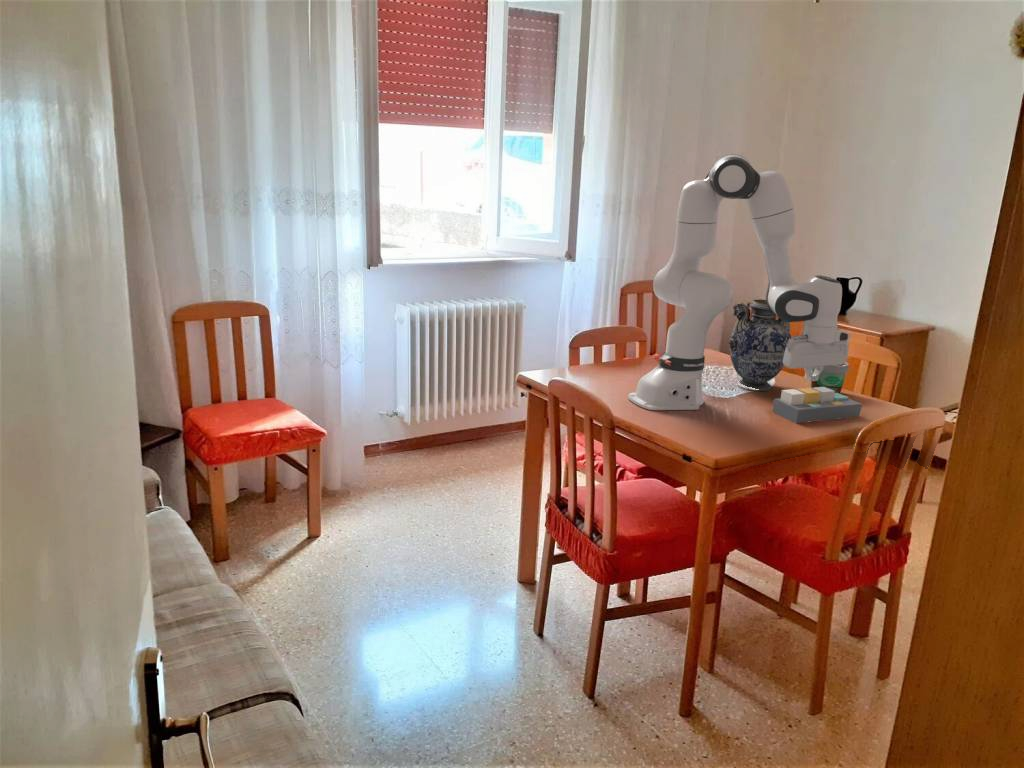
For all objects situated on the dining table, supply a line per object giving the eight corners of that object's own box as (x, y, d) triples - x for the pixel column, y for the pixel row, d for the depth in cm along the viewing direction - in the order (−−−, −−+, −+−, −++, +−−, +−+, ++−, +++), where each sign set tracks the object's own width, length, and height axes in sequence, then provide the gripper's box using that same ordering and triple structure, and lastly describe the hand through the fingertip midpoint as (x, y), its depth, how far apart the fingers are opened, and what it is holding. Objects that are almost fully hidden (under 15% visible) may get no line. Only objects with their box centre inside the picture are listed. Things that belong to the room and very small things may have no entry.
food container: (816, 397, 234) (822, 366, 231) (806, 391, 240) (811, 361, 237) (852, 397, 236) (858, 366, 233) (841, 391, 242) (847, 361, 239)
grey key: (821, 403, 216) (823, 392, 215) (810, 398, 220) (812, 387, 219) (833, 402, 218) (835, 391, 217) (822, 397, 222) (824, 386, 221)
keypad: (796, 423, 209) (798, 409, 208) (772, 411, 218) (774, 398, 217) (859, 416, 217) (862, 403, 216) (834, 406, 226) (836, 392, 225)
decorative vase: (734, 394, 232) (746, 305, 224) (711, 378, 250) (722, 295, 242) (798, 395, 235) (813, 307, 227) (771, 379, 253) (784, 297, 245)
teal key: (834, 409, 219) (836, 398, 218) (823, 404, 223) (825, 393, 222) (846, 408, 221) (848, 397, 219) (835, 403, 224) (837, 392, 223)
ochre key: (805, 404, 214) (807, 393, 213) (795, 400, 218) (797, 388, 217) (818, 403, 216) (820, 392, 215) (807, 399, 220) (809, 387, 219)
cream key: (790, 406, 212) (792, 394, 211) (780, 401, 216) (781, 390, 215) (802, 405, 214) (804, 393, 213) (792, 400, 218) (794, 389, 217)
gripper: (796, 338, 205) (789, 386, 209) (855, 334, 211) (847, 380, 216) (781, 333, 210) (774, 380, 214) (839, 329, 217) (831, 374, 221)
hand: (811, 380), depth 215 cm, fingers closed
